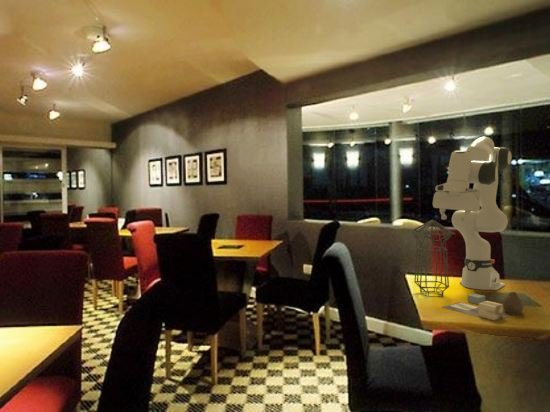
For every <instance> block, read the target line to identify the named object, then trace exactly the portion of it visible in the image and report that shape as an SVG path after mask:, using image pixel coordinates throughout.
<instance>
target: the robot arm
mask: <svg viewBox="0 0 550 412" xmlns="http://www.w3.org/2000/svg"><path fill="white" fill-rule="evenodd" d="M511 161H512V152H511V150H510V149H509V148H508V147H503V146H500V147H499V146H497V147H496V146H495V143H494V141H493V139H492V138H491V137H488V136H481V137H477V138H476V139H474V140H473V141H472V142H471V143H470V144H469V145H468V147H467V148H466V150H454V151H452V152H451V154H450V159H449V163H448V169H447V171H448V173H447V174H448V176H447V180H446V182H445V183H442V184H439V185H438V184H437V185H436V186H435V191H436V192H435V193H433V198H432V206H433V208H434V209H439V214H440V215H441V216H440V217H441V220H447V219H448V218H447V217H448V215H446V213H445V212H446V210H454V212H453V214H452V217H451V223H452V226H453V227H454V229H456V230H457V231H458V232H459V233H460V235H462V237H463V240H464V242H465V257H464V265H465V266H464V267H463V268H462V274H461V275H462V276H461V280H459V284H461V286H462V287H465V288H468V289H475V290H484V291H486V290H488V291H497V290H499V289H502V288H503V287H504V286H505V283H504V282H502V281H500V273H498V271H497V270H496V269H495V268H494V267H493V264H495V262H496V261H495V259H492V258H491V249H492V248H491V244H490V242H489V241H488V240H486V239H484V238H482V237H481V235H480V234H479V232H481V233H482V232H483V233H498V232H503V231H505V229H506V228H507V226H508V223H509V221H508V217H507V215H506V214H505V213H504V211H502V210H501V209H500V208H499V206H498V204H497V201H496V200H497V192H498V186H499V185H498V184H499V173H502V172H503V171H504V170H506V169H507V168H508V167H509V166H510V163H511ZM470 184H473V187H472V188H470Z"/></svg>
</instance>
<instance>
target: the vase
mask: <svg viewBox="0 0 550 412" xmlns="http://www.w3.org/2000/svg"><path fill="white" fill-rule="evenodd" d="M502 304H503V311H504V313H506V314H510V315H521V314H522V313H523V311H524V303H523V301H522V299H521V298H520V296H519V295H518V293H517V292H514V291H513V292H512V291H510V292H508V295H507V296H506V297H505V298H504V299H503V302H502Z"/></svg>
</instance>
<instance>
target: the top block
mask: <svg viewBox="0 0 550 412" xmlns="http://www.w3.org/2000/svg"><path fill="white" fill-rule="evenodd" d="M485 301H486V295H484V294H483V295H482V294H478V293H471V294H467V303H471V304H475V305H479V303H481V302H485Z"/></svg>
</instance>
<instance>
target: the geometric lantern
mask: <svg viewBox="0 0 550 412" xmlns="http://www.w3.org/2000/svg"><path fill="white" fill-rule="evenodd" d="M429 228H430V231H428V230H429ZM433 229H434V230H433ZM434 232H435V233H434ZM439 232H442V233H441V234H440V233H439ZM411 233H412V235H413V237H414V238H415V240H416V243H419V246H418V244H416V254H415V270H414V281H413V282H414V284H415V285H417V287H418V288H419V292H420V294H422V295H423V296H425V297H428V298H429V297H432V298H433V297H434V298H435V297H436V298H437V297H438V298H441V297H444V292H445V291H446V290H448V288H450V285H449V283H450V280H449V264H448V263H449V261H448V250H449V249H447V242H446V241H449V240H450V238H451V236H452V235H456V233H455V232H453V231H452V230H450V229H448V227H446V226H444V225H442V224H441V223H439V222H438V221H436V219H435V220H434V219H431V220H430V219H429V220H428V221H427V222H424V223H423V224H421V225H419V226H417V227H416V228H414V229H411ZM428 235H430V236H428ZM437 235H438V237H439V238H438V239H435V238H434V236H437ZM441 236H443V237H441ZM420 237H423V239H422V241H421V240H420ZM425 239H429V240H430V242H428V243H429V244H428V245H427V246H425V247H424V246H423V243H424V242H425ZM443 239H444V240H443ZM442 240H443V242H442ZM437 241H438V242H440V244H441V245H440V246H437V245H436V243H435V242H437ZM431 243H433V244H434V245H435V248H436V249H427V248H429V247H430V244H431ZM444 244H445V245H444ZM427 251H430V252H431V251H432V252H433V251H435V252H436V256H435V257H436V258H435V260H436V261H435V280H427V275H428V274H427ZM438 253H439V254H438ZM442 254H443V264H442ZM438 255H439V261H440V262H439V263H440V281H438V277H437V276H438ZM423 258H424V259H423ZM420 259H421V261H420ZM423 260H424V261H423ZM423 262H424V270H425V271H424V274H425V275H424V277H425V280H422V279H423V278H422V275H423ZM442 265H443V266H442ZM442 267H443V268H444V282H443V271H442V270H443V268H442ZM419 272H420V273H419ZM419 274H420V278H419ZM422 283H425V286H422ZM428 283H435V284H434V286H427V285H428ZM437 283H439V284H438V285H437ZM441 285H444V286H441ZM440 286H441V287H440ZM425 289H426V290H425ZM429 289H433V290H429ZM438 290H439V291H438ZM430 293H438V294H439V295H430ZM427 294H428V295H427Z"/></svg>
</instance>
